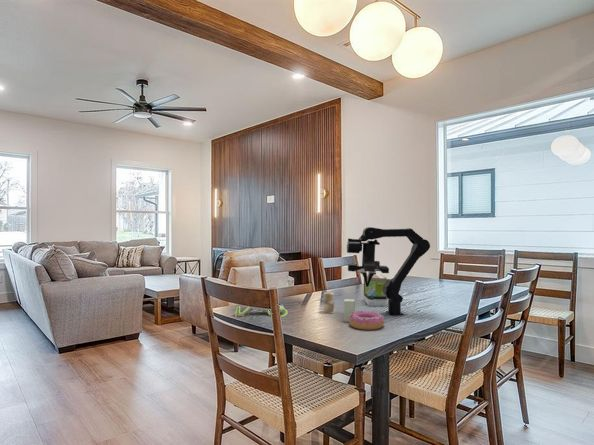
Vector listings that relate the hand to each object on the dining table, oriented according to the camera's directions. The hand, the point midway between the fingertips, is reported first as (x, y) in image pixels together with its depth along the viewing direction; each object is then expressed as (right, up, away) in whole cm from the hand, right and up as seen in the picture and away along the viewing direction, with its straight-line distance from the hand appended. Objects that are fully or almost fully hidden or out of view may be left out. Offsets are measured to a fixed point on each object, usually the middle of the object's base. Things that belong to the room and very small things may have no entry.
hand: (367, 286), depth 178 cm
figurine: (-51, -14, +3) cm, 53 cm away
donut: (-4, -13, -21) cm, 25 cm away
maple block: (-18, -13, +4) cm, 22 cm away
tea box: (+9, -13, +23) cm, 28 cm away
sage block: (-10, -13, -13) cm, 21 cm away
